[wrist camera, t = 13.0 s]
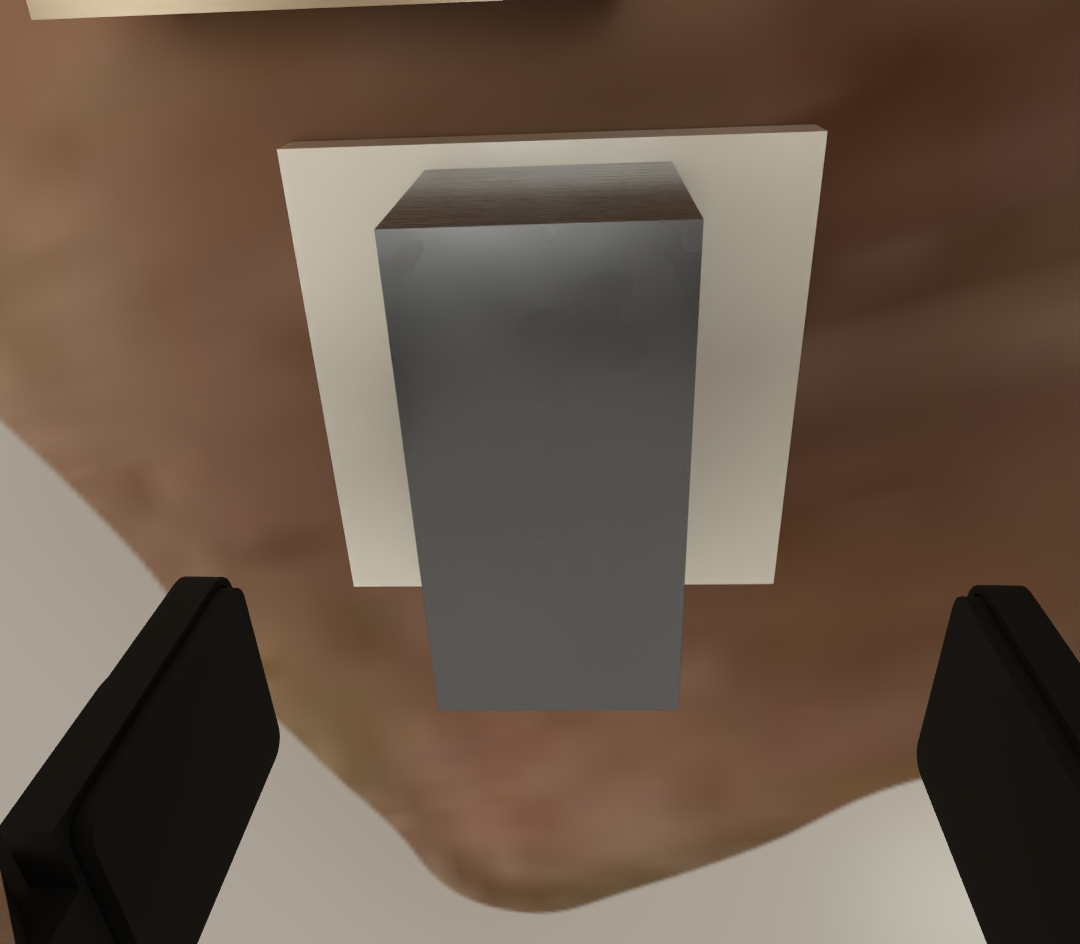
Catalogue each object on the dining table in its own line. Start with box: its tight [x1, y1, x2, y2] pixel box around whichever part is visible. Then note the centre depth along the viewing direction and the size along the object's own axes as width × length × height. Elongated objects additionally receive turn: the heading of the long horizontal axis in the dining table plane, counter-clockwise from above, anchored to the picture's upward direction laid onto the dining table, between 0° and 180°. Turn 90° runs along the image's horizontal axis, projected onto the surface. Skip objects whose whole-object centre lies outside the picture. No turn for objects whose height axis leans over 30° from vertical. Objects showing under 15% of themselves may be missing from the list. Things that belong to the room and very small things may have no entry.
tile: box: [277, 124, 828, 587], centre depth 20 cm, size 11×11×1 cm
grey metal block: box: [374, 161, 704, 710], centre depth 18 cm, size 5×10×5 cm, turn 2°
